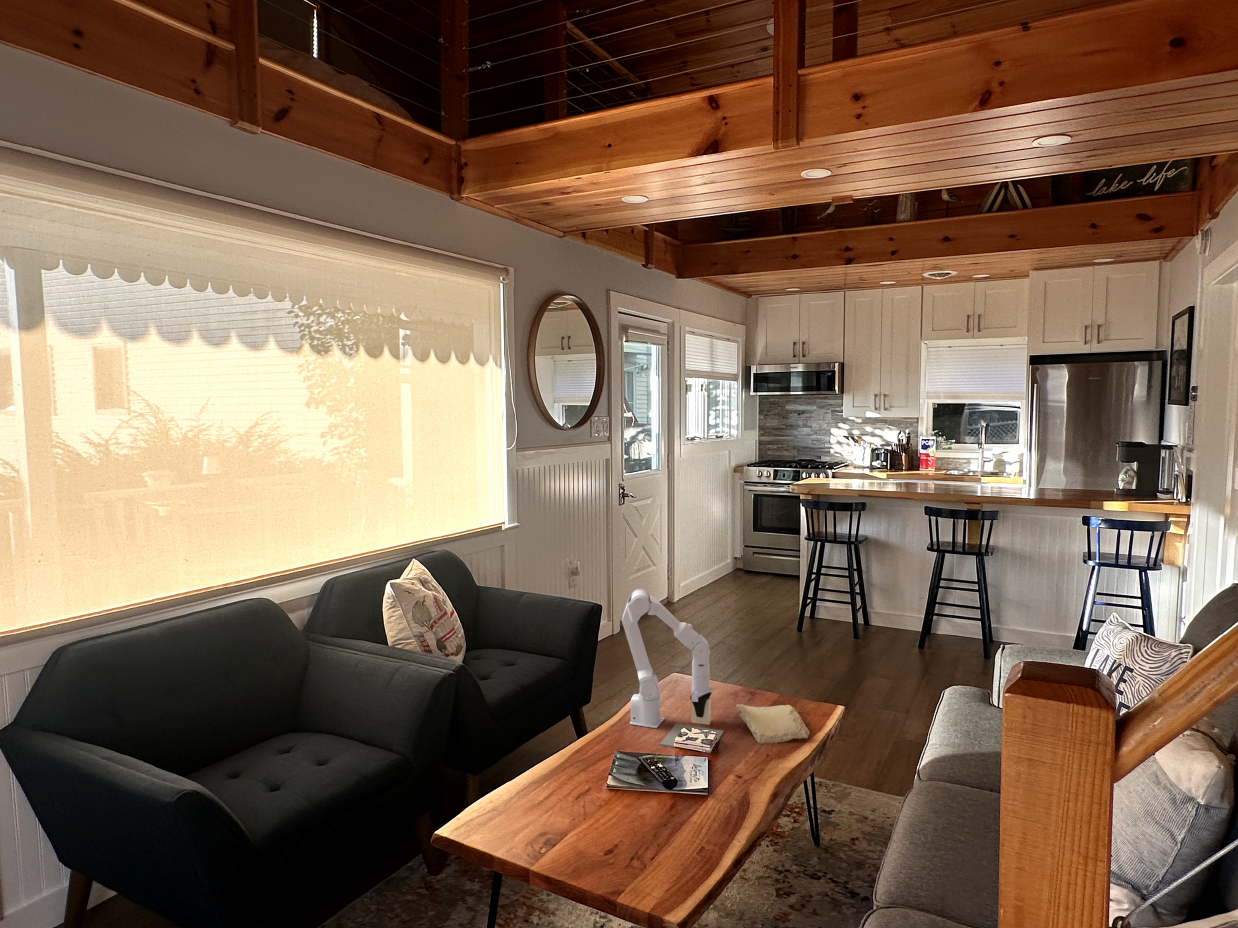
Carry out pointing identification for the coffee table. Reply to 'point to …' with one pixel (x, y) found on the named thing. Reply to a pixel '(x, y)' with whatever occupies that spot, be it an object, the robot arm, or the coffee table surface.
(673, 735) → the mat
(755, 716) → the small cream pillow
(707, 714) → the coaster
